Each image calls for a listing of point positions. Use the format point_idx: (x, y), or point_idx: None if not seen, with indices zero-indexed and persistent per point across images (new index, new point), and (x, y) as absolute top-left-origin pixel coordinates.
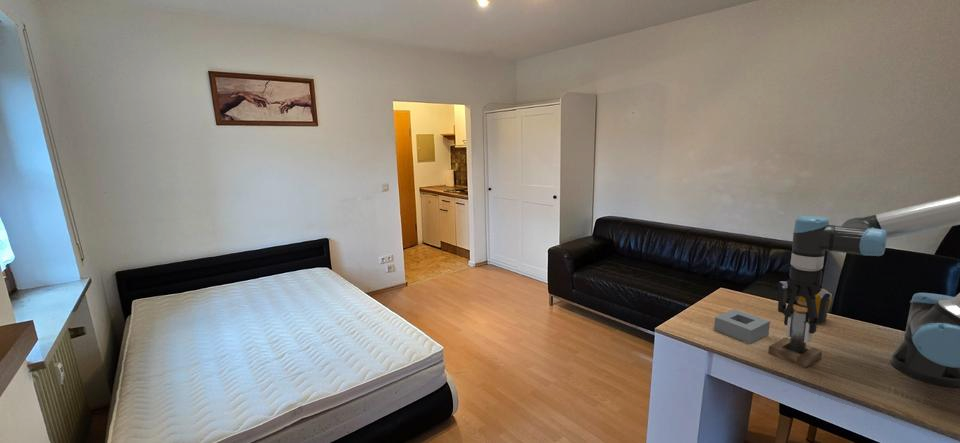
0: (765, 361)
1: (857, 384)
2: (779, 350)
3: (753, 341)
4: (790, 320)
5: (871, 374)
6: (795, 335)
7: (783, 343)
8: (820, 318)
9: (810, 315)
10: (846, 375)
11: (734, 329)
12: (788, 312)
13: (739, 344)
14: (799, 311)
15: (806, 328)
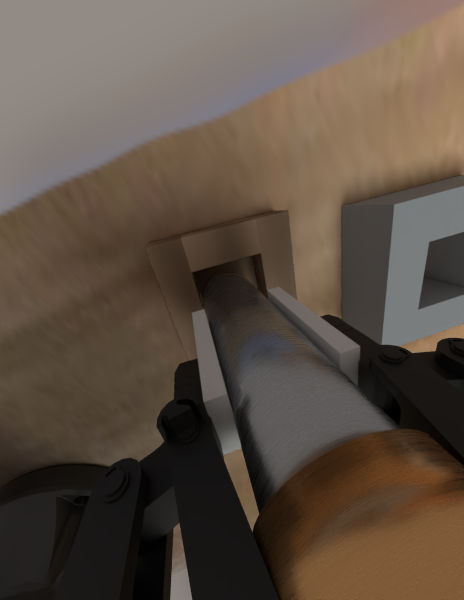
0: (235, 126)
1: (15, 311)
2: (247, 220)
3: (343, 233)
4: (326, 340)
5: (75, 396)
6: (242, 299)
7: (275, 286)
8: (91, 566)
9: (217, 515)
10: (79, 328)
11: (432, 189)
12: (406, 381)
13: (360, 161)
14: (351, 478)
15: (210, 360)
